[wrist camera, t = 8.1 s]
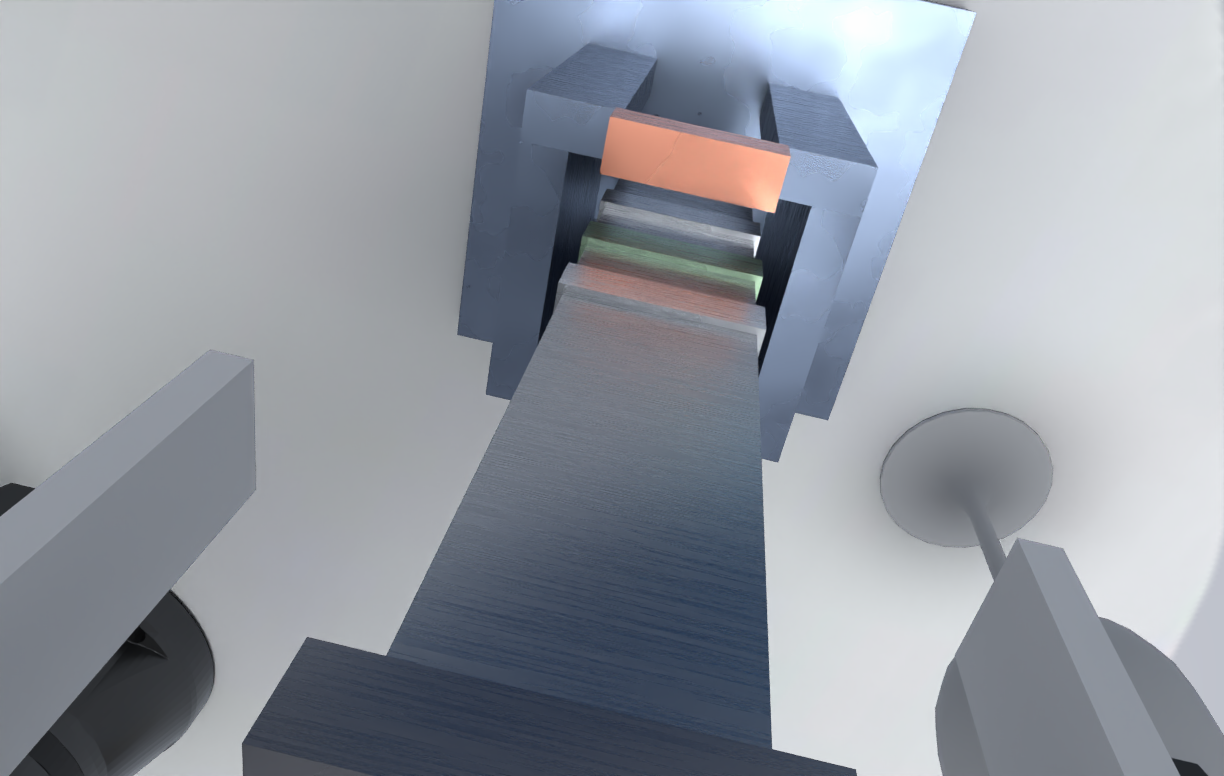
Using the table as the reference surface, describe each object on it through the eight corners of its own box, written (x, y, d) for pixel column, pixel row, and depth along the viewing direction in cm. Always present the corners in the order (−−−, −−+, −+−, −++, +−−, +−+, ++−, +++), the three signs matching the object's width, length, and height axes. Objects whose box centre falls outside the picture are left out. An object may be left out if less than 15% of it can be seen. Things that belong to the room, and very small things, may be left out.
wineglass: (840, 470, 39) (927, 954, 21) (989, 371, 36) (1249, 837, 18) (941, 573, 41) (1103, 1100, 23) (1091, 488, 38) (1422, 1019, 19)
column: (576, 308, 28) (252, 1054, 10) (604, 150, 26) (240, 743, 7) (732, 344, 28) (714, 1173, 9) (777, 189, 25) (873, 898, 7)
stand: (467, 320, 38) (353, 483, 27) (514, -89, 30) (382, -99, 19) (824, 402, 38) (859, 602, 26) (966, 9, 30) (1099, 58, 19)
